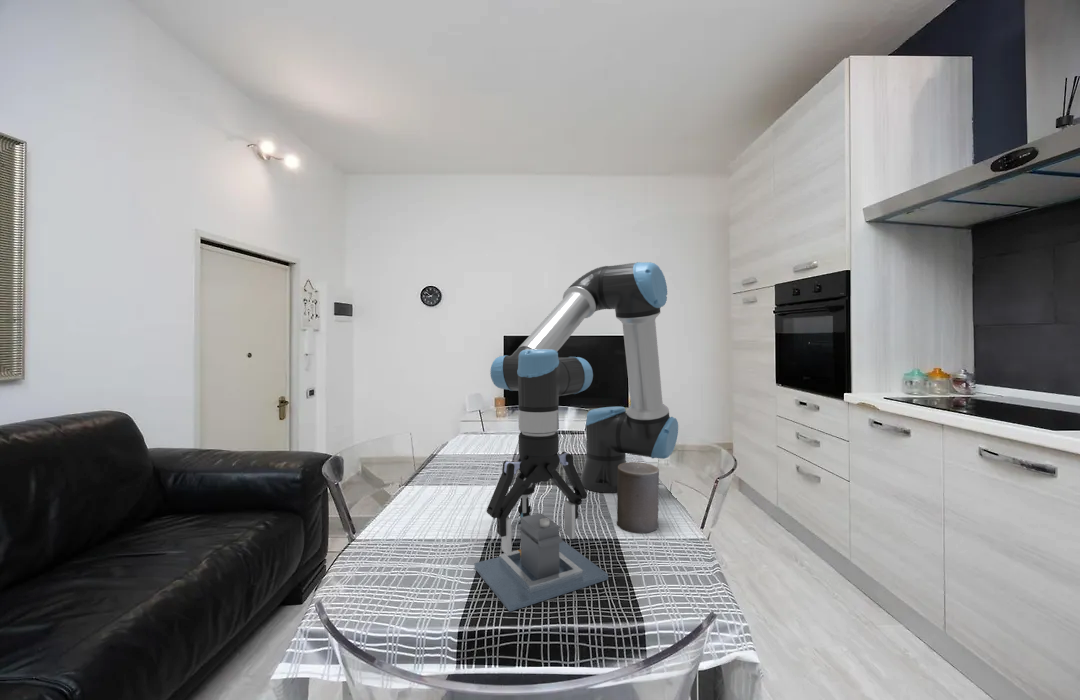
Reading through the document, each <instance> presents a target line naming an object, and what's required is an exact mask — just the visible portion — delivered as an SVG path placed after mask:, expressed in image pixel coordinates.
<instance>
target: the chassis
mask: <svg viewBox="0 0 1080 700" xmlns="http://www.w3.org/2000/svg"><path fill="white" fill-rule="evenodd" d="M473 568H474V569H475V571H476V572H477V573H478V574H479V576H480V577H481V578H482V580H483V581H484V582H485V584H486V585H487V586H488V587H489V589H490V590H491V591H492V593H494V595H495V596H496V597H497V599H499V601H500V602H501V603H502V605H503V606H504V607H505V608H506V610H507V611H508V612H509V613H511V612H513V611H517V610H520V609H523V608H526V607H530V606H533V605H535V604H538V603H541V602H544V601H546V600H547V601H548V600H550V599H551V600H552V599H554V598H556V597H559V596H562V595H565V594H568V593H572V592H574V591H578V590H581V589H583V588H587V587H590V586H593V585H596V584H599V583H602V582H605V581H608V580H609V574H608V573H607V572H606V571H604V570H603V569H602V568H601V567H599V566H598V565H596V564H595V563H594V562H592V561H591V560H590V559H589V558H587V556H584V555H583V554H582V553H580V552H579V551H578V550H576V549H575V548H574V547H572V545H570V544H568V543H567V542H565V541H564V540H563V539H562V542H561V543H559V574H556V575H552V576H549V577H546V578H542V579H539V580H538V579H537V578H536V577H534V576H533V575H532V574H531V573H530V572H529V571H528V570H527V569H526V568H525V567H524V566H523V565H522V564H521V548H520V549H517V550H512V555H509V556H507V555H506V554H505V553H501V554H499V555H498V557H497V556H496V557H493V558H489V559H486V560H481V561H479V562H475V563H474V567H473Z"/></svg>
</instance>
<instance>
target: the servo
mask: <svg viewBox="0 0 1080 700" xmlns="http://www.w3.org/2000/svg"><path fill="white" fill-rule="evenodd" d="M517 525H518V530H519V531H520V549H521V564H522V565H523V566H524V567H525V568H526V569H527V570H528V571H529V572H530V573H531V574H532V575H533V576H534V577H536V578H537V579H538V580H539V579H542V578H546V577H549V576H552V575H556V574H559V543H561V542H562V540H563V536H560V526H559V524H557V523H556V522H555V521H553V520H551V519H550V518H548V517H547V516H546V515H544V514H543V513H542V512H539V513H535V514H530V516H525V517H520V524H517Z"/></svg>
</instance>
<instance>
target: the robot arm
mask: <svg viewBox="0 0 1080 700" xmlns="http://www.w3.org/2000/svg"><path fill="white" fill-rule="evenodd" d="M667 285H668V284H667V282H666V278H665V275H664V272H663V271H662V269H661V268H660V266H659V265H658V264H657V263H655V262H651V261H650V262H648V261H647V262H646V261H645V262H642V261H641V262H640V261H639V262H638V261H637V262H630V263H623V264H622V263H621V264H615V265H605V266H600V267H597V268H594V269H592V270H590V271H588V272H586V273H585V274H583V275H582V276H581V277H579V278H577V279H576V280H575V281H574V282H573V283H572V284H570V286H568V287H567V288H566V290H565V291H564V293H563V295H562V300H560V302H559V303H558V304H557V305H556V306H555V308H554V309H552V310H551V312H550V313H549V314H548V315H547V316H546V317H545V318H544V319H543V321H542V322H540V324H539V325H538V326H536V328H535V329H534V330H533V331H532V332H531V333H530V334H529V336H528V337H527V338H526V339H525V340H524V341H523V342H522V343H521V344H520V345H519V346H518V348H516V350H515V351H514V352H513V353H512V354H511V355H508V354H507V355H500V356H497V357H495V359H494V360H493V361H492V364H491V367H490V370H489V372H490V374H489V375H490V379H491V381H492V383H493V385H494V386H495V387H497V388H499V389H501V390H502V389H503V390H507V391H508V390H509V391H511V392H513V391H516V392H517V391H518V413H517V414H518V430H519V431H520V433H519V434H518V454H519V456H518V457H519V458H518V460H517V461H509V460H504V461H502V469H501V471H502V472H501V475H500V477H499V480H498V482H497V484H496V487H495V489H494V491H493V493H492V496H491V498H490V501H489V504H488V505H487V508H486V513H487V514H488V515H489V516H490V517H491V518H492V519H496V533H497V534H498V535H499V536H500V538H501V551H502V552H503V554H506V555H507V556H509V555H512V551H513V549H512V518H511V517H509V515H510V514H511V512H512V511H513V509H514V507H515V506H517V505H516V504H517V503H518V502H519V500H521V496H522V494H523V492H524V491H525V489H526V488H528V487H529V486H530V485H531V483H534V484H535V485H536V484H539V483H541V482H544V483H545V482H546V483H547V482H549V481H550V480H551V481H552V482H553V483H554V484H555V486H557V488H558V489H559V490H560V491H561V492H562V494H563V495H564V496H565V497H566V498H567V500H564V509H563V510H564V534H565V536H567V537H569V539H571V540H573V539H576V520H577V519H578V518H579V505H581V504H582V503H583V501H582V500H583V499H586V498H588V494H587V491H586V490H589V491H593V492H597V493H604V494H605V493H608V494H609V493H617V478H618V466H619V465H620V464H622V463H627V458H626V455H633V456H640V457H645V458H651V459H661V460H664V459H668V458H669V457H670V456H671V455H672V454H673V451H674V449H675V447H676V444H677V439H678V435H679V422H678V419H677V418H676V417H673V416H670V408H669V407H668V406H667V405H665V404H664V403H663V394H662V392H663V391H662V381H661V371H660V370H661V369H660V359H659V358H660V357H659V347H658V346H659V345H658V337H657V323H656V319H657V317H658V316H659V315H660V314H661V308H662V307H665V305H666V303H667V300H668V297H667V295H668V286H667ZM601 310H614V312H615V318H616V319H617V320H618V321H620V322H621V323H622V333H623V340H624V350H625V352H624V353H625V360H626V361H625V362H626V370H627V378H628V380H627V381H628V388H629V399H630V406H629V407H628V408H627V409H626V407H624V406H606V407H599V408H594V409H591V410H589V411H588V412H587V414H586V419H585V430H586V431H585V433H586V435H585V440H586V443H585V445H586V446H585V447H586V450H585V451H586V455H585V456H586V459H585V462H584V465H583V469H582V473H581V475H579V474H578V472H577V469H576V467H575V465H574V456H573V455H572V454H570V453H568V452H566V451H562V452H561V454H559V453H558V452H559V450H560V449H559V447H560V446H559V445H560V444H559V443H560V440H559V439H560V435H559V433H558V431H559V430H560V423H559V422H560V420H559V415H560V414H559V397H561V396H568V395H576V394H579V393H581V392H583V391H586V390H587V389H588V388H589V387H590V386H591V384H592V382H593V378H594V372H593V368H592V366H591V364H590V363H589V362H588V360H586V359H585V358H583V357H580V356H577V357H576V356H568V357H560V356H559V352H558V351H559V350H560V349H561V348H562V347H563V346H564V345H565V343H566V342H567V340H568V339H570V337H571V336H572V335H573V333H574V332H575V331H576V330H577V328H578V327H579V326H580V324H581V323H582V322H583V321H584V320H585V319H588V318H590V317H591V316H593V314H594V313H596V312H598V311H601ZM559 465H561V466H562V467H563V470H564V472H565V475H566V476H567V479H568V480H569V483H570V485H571V487H572V488H571V487H570V486H569V484H568V483H567V482H566V481H565V480H564V479H563V478H562V475H561V474H560V473H559V472H558V471H557V469H558V466H559ZM518 470H519V473H518V475H517V476H516V478H515V482H514V483H513V485H512V486H511V484H512V482H513V479H514V475H516V474H517V471H518ZM524 479H525V480H524ZM510 487H511V488H510Z"/></svg>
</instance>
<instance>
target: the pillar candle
mask: <svg viewBox="0 0 1080 700" xmlns="http://www.w3.org/2000/svg"><path fill="white" fill-rule="evenodd" d="M659 476H660V469H659V468H658V466H656V465H654V464H651V463H645V462H638V461H629V462H628V461H626V463H622V464H620V465H619V466H618V478H617V492H616V493H617V494H616V495H617V497H616V498H617V499H616V500H617V502H616V503H617V506H616V507H617V508H616V510H617V511H616V513H617V517H616V525H617V527H619V528H620V529H622V530H624V531H627V532H630V533H634V534H649V533H653V532H654V531H656V530H657V529H658V528H659V488H660V487H659V483H660V482H659V481H660V480H659V479H660V477H659Z"/></svg>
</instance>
